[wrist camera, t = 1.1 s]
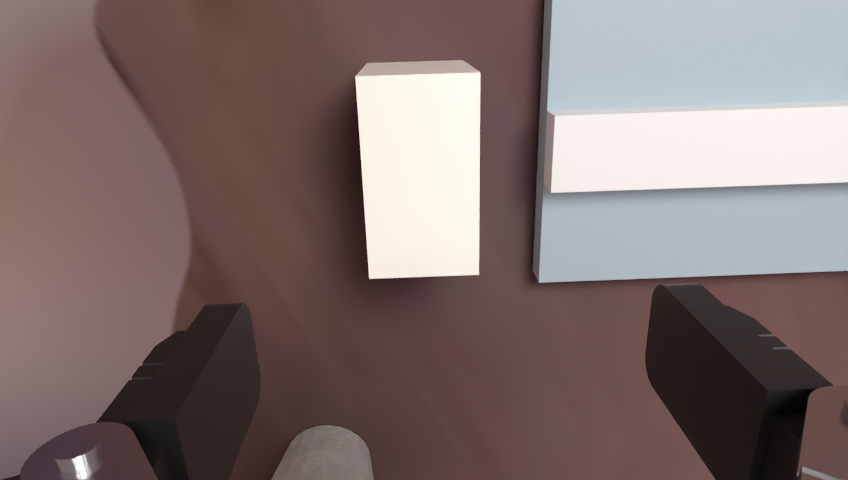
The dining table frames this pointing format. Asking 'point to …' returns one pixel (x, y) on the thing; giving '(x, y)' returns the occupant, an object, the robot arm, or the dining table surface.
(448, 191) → the din module
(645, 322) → the dining table surface
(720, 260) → the rail board
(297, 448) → the house plant
